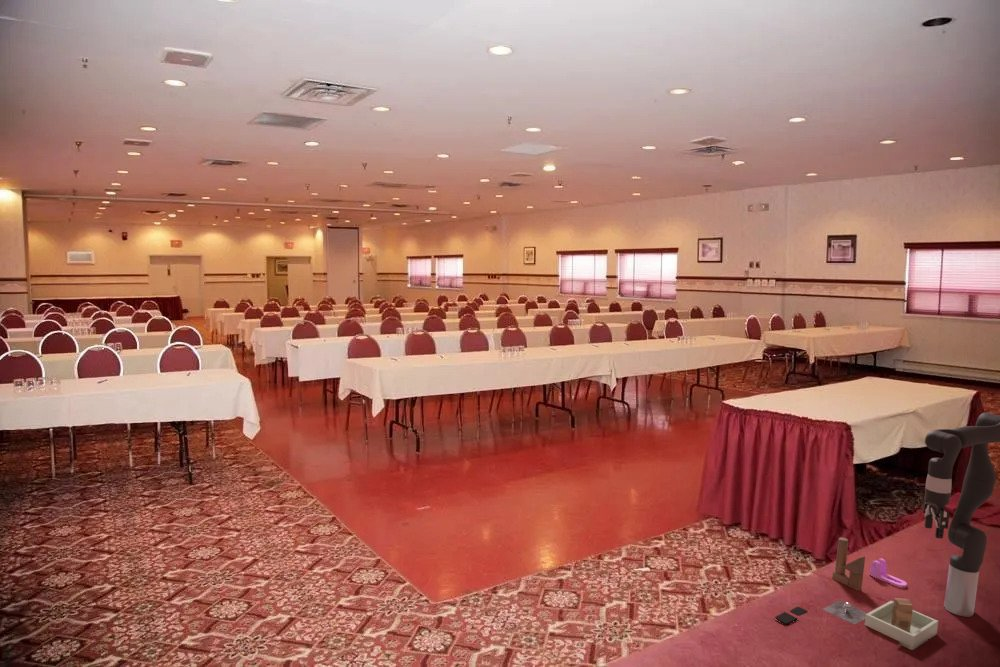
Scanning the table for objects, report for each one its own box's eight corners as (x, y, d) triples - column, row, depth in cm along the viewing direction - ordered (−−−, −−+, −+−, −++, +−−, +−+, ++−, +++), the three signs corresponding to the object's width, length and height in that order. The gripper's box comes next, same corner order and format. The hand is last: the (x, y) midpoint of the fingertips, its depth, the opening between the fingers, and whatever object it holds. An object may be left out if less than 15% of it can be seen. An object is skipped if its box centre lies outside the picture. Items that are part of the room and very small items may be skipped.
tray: (889, 613, 252) (891, 600, 251) (936, 634, 239) (938, 621, 238) (864, 627, 242) (865, 614, 241) (912, 650, 229) (913, 636, 228)
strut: (891, 624, 243) (894, 597, 242) (904, 625, 242) (907, 599, 241) (896, 630, 239) (899, 604, 237) (909, 632, 238) (913, 605, 237)
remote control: (785, 628, 241) (810, 615, 250) (785, 623, 241) (810, 610, 249) (773, 621, 245) (797, 608, 254) (773, 617, 245) (797, 604, 253)
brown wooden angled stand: (855, 592, 267) (860, 548, 264) (831, 580, 276) (836, 537, 274) (861, 590, 268) (866, 547, 266) (837, 578, 278) (842, 536, 276)
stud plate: (839, 602, 258) (840, 591, 258) (871, 617, 249) (873, 605, 248) (822, 611, 252) (823, 599, 251) (854, 627, 242) (855, 614, 241)
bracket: (869, 576, 281) (871, 560, 280) (876, 572, 284) (878, 557, 283) (902, 589, 270) (904, 573, 269) (909, 586, 273) (911, 570, 272)
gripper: (960, 496, 229) (954, 542, 231) (940, 482, 243) (936, 525, 245) (935, 495, 230) (930, 540, 233) (917, 480, 244) (913, 523, 246)
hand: (933, 532), depth 239 cm, fingers open, 8 cm apart
